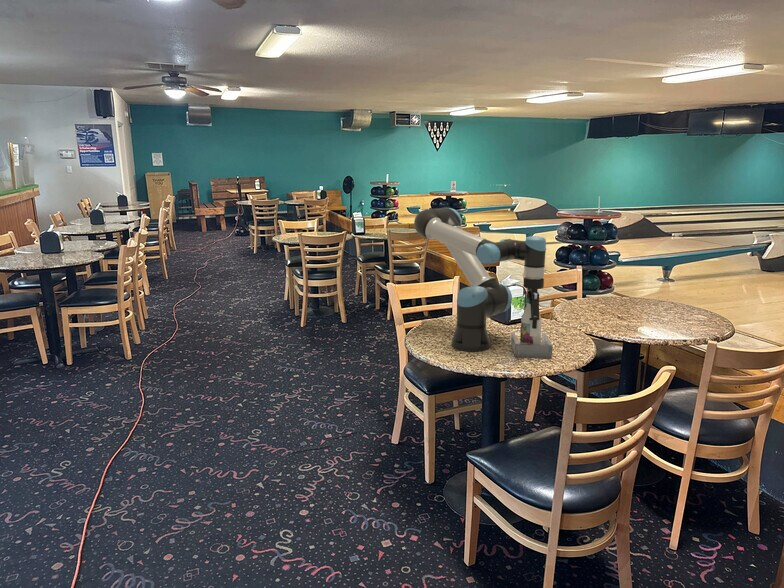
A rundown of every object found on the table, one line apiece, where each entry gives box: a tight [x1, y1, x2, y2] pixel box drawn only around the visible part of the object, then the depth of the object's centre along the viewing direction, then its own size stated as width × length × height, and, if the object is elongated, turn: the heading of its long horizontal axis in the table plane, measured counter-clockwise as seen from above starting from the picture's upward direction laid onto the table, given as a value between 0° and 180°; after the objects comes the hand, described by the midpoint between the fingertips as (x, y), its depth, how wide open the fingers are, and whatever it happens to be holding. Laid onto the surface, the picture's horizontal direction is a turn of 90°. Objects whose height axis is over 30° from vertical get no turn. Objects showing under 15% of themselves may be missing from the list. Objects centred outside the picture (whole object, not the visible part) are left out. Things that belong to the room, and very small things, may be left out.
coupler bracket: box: [510, 331, 554, 359], centre depth 204 cm, size 13×16×5 cm
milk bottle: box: [519, 297, 542, 344], centre depth 204 cm, size 8×8×20 cm
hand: (530, 331), depth 205 cm, fingers open, 12 cm apart
